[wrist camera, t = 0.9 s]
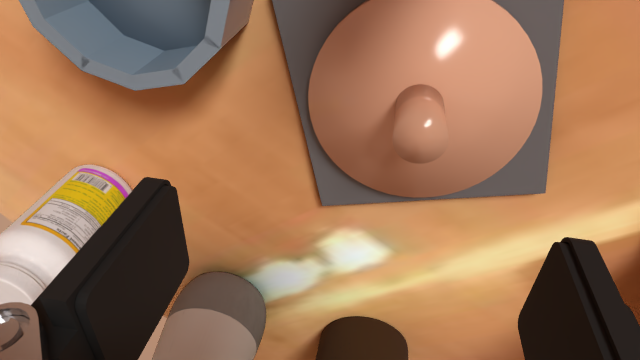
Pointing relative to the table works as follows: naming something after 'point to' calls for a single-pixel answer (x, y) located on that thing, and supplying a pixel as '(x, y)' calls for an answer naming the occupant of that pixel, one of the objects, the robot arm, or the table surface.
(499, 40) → the lid
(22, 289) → the supplement bottle
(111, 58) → the bowl
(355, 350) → the olive oil
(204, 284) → the smart speaker
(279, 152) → the table surface
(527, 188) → the mat
